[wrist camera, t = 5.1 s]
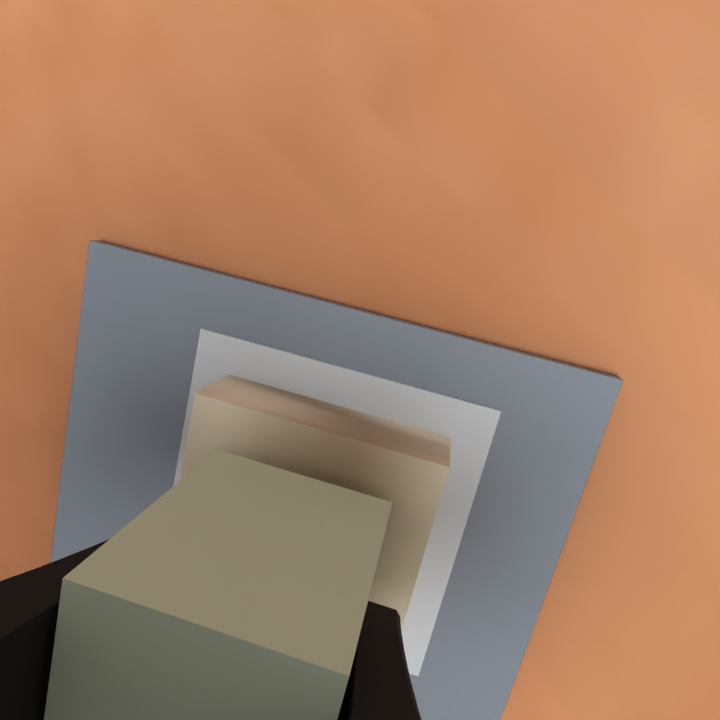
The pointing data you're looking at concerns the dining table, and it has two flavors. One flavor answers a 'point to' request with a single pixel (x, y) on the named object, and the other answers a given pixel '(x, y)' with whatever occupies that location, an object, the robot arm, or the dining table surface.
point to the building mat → (358, 392)
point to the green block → (221, 602)
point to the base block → (333, 462)
